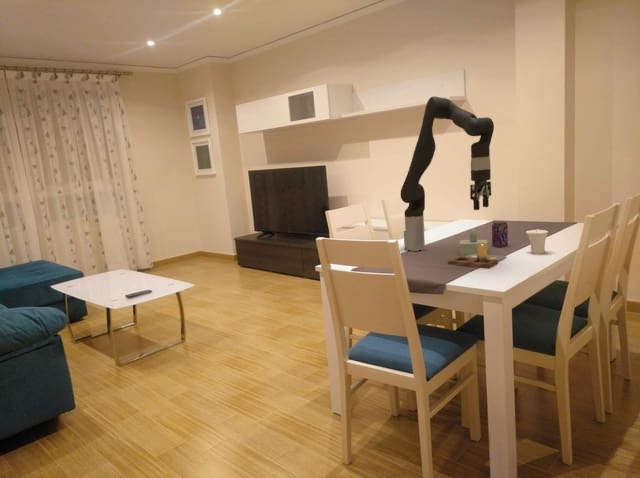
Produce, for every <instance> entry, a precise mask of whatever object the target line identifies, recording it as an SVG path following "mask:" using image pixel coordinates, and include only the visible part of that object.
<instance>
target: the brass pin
mask: <svg viewBox="0 0 640 478" xmlns="http://www.w3.org/2000/svg"><path fill="white" fill-rule="evenodd" d="M487 255H488V242H487V243H478V244H477V262H478V263H487V262H488V261H487Z"/></svg>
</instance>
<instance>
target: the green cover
mask: <svg viewBox="0 0 640 478" xmlns="http://www.w3.org/2000/svg"><path fill="white" fill-rule="evenodd" d="M477 233H478V230H477V228H470V229H469V239H461V240H460V242H459V254H460V255H469V254H472V253H474V254H477V244H478V243H487V244H488V240H487V239H478V237H477Z"/></svg>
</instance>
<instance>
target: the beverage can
mask: <svg viewBox="0 0 640 478" xmlns="http://www.w3.org/2000/svg"><path fill="white" fill-rule="evenodd" d="M508 229H509V227H508V224H507V221H505V220H497V221H495V220H494V221H492V224H491V246H493V247H496V248H505V247H507V246H508V245H509V242H508V241H509V239H508V238H509V237H508V234H509V233H508Z"/></svg>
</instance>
